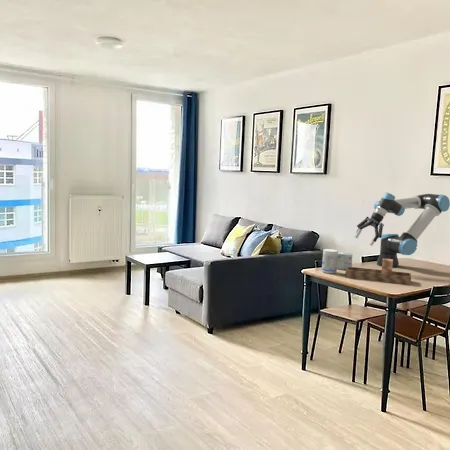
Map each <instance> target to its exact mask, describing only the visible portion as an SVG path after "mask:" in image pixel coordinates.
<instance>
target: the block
mask: <svg viewBox="0 0 450 450" xmlns="http://www.w3.org/2000/svg"><path fill="white" fill-rule="evenodd" d="M392 266H393V259H384V258H383V261H382V266H381V270H382V273H383V274H392V271H393V267H392Z"/></svg>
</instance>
